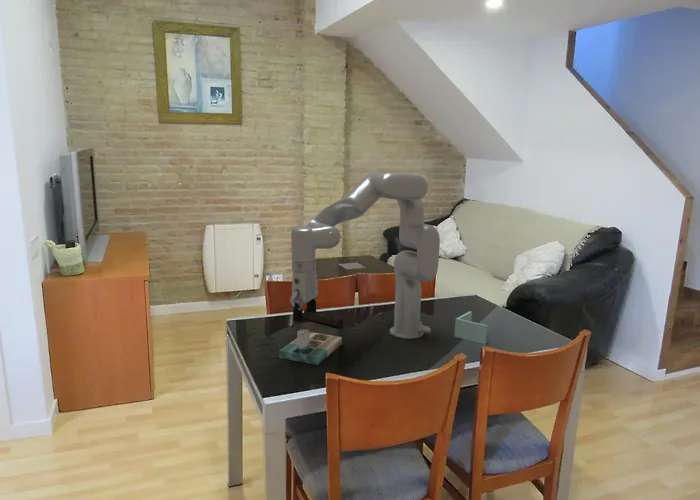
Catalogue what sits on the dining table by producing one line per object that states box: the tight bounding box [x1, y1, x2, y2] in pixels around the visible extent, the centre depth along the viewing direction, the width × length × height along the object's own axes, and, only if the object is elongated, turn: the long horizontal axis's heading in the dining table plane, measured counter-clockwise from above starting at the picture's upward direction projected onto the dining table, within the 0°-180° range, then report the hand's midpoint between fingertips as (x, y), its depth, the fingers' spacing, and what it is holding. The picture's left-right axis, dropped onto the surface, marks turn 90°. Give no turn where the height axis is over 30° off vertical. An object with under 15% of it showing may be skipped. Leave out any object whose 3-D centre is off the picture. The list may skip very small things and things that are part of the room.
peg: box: [296, 329, 311, 355], centre depth 173 cm, size 4×4×9 cm
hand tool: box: [303, 307, 344, 329], centre depth 208 cm, size 19×4×5 cm, turn 53°
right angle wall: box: [454, 311, 488, 345], centre depth 196 cm, size 12×12×8 cm
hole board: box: [278, 331, 343, 366], centre depth 179 cm, size 14×20×2 cm
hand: (304, 316), depth 171 cm, fingers open, 9 cm apart
